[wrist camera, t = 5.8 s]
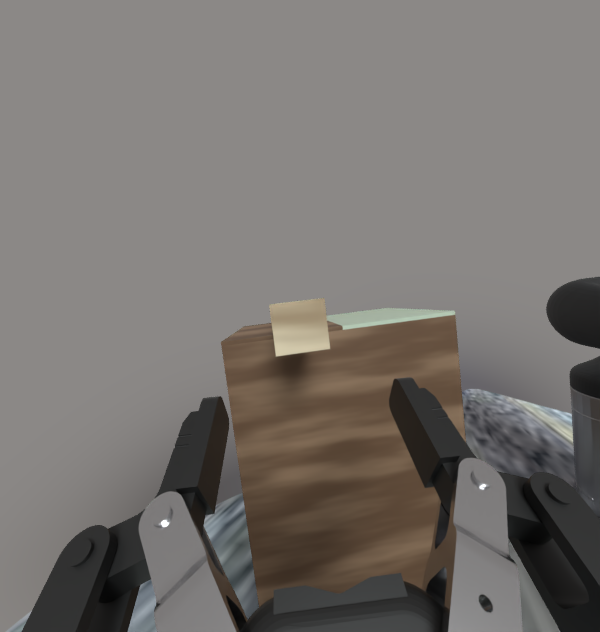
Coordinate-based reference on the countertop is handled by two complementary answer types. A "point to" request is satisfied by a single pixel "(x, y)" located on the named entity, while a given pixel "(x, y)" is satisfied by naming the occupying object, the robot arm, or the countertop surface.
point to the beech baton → (299, 326)
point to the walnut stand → (338, 448)
